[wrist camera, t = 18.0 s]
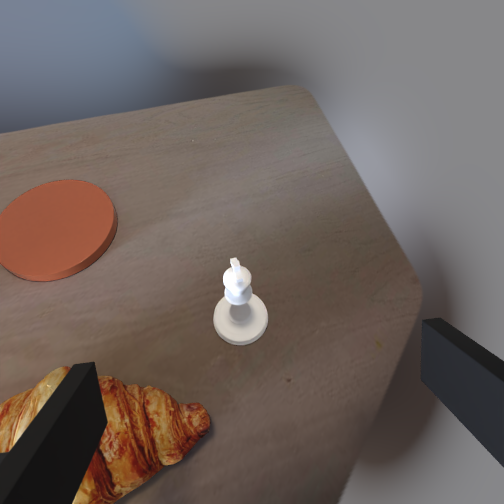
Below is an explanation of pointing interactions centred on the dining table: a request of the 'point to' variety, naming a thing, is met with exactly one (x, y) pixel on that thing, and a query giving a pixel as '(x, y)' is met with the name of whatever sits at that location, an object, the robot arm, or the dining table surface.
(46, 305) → the dining table surface
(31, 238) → the orange flat disc
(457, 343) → the robot arm
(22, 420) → the croissant
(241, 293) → the chess piece
